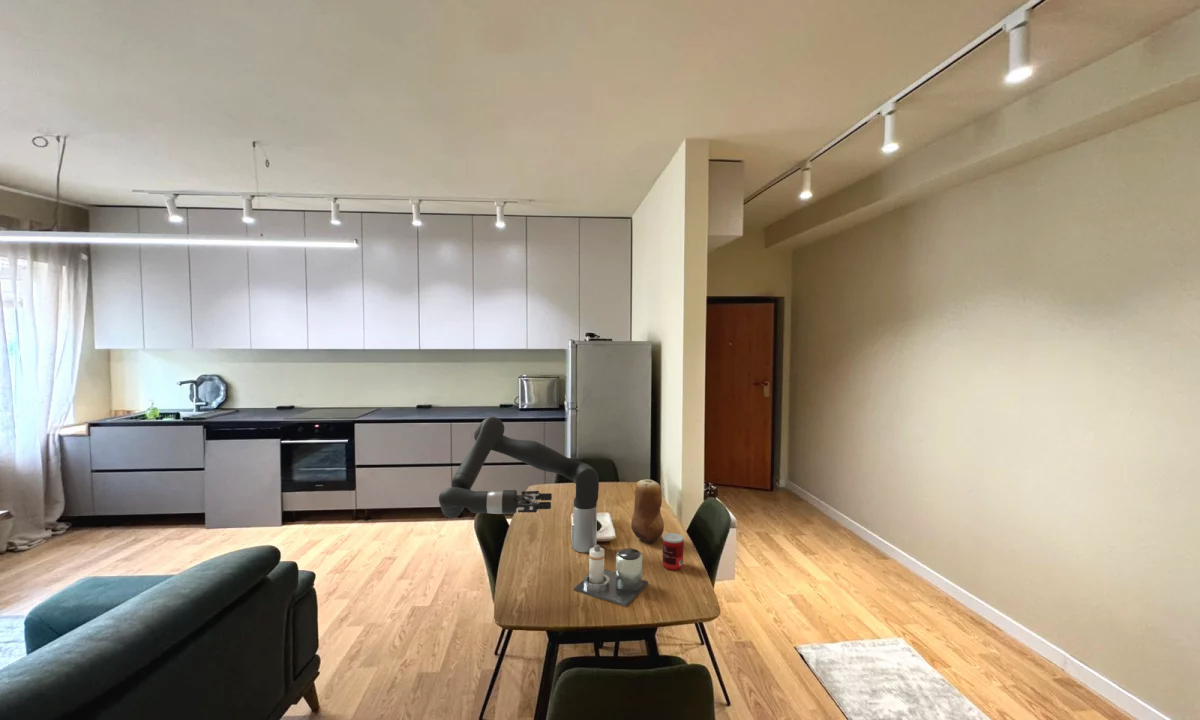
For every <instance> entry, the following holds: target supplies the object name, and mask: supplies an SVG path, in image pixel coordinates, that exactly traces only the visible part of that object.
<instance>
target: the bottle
mask: <svg viewBox="0 0 1200 720" xmlns="http://www.w3.org/2000/svg"><path fill="white" fill-rule="evenodd" d="M588 553H589V554H588V558H589V561H588V563H589V564H588V565H589V566H588V568H589V569H588V574H589V583H592V584H602V583H604V569H605V549H604V548H603V547H601V545H600V544H596V545H594V547H593V548H591V549H590V552H588Z"/></svg>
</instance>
